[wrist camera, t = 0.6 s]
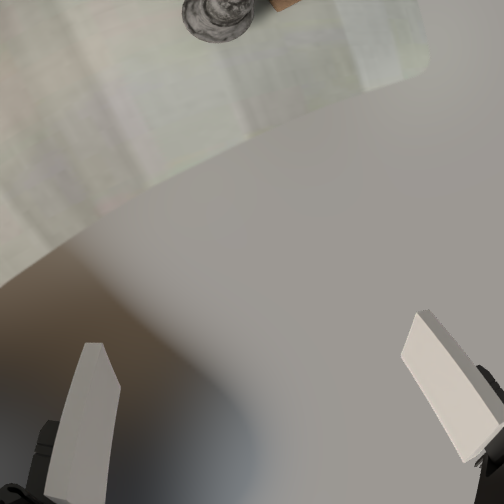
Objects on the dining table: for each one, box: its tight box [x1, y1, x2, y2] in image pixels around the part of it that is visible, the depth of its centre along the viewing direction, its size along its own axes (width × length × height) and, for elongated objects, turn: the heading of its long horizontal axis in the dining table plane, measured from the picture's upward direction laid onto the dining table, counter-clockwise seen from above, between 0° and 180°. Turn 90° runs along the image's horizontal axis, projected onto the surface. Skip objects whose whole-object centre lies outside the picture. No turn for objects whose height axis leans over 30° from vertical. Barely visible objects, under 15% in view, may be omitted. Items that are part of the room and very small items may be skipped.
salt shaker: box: [182, 0, 254, 43], centre depth 18 cm, size 6×6×12 cm
